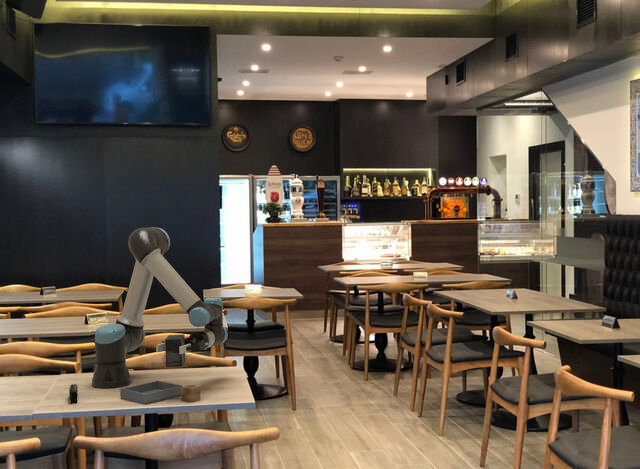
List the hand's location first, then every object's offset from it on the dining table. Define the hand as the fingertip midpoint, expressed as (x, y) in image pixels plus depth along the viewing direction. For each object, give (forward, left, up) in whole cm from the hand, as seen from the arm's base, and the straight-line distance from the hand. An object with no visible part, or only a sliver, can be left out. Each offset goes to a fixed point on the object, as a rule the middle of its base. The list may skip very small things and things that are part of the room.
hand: (168, 349), depth 283 cm
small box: (-1, +4, -7) cm, 8 cm away
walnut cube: (+9, +2, -18) cm, 21 cm away
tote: (-7, -3, -18) cm, 19 cm away
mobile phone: (-28, -22, -18) cm, 40 cm away
